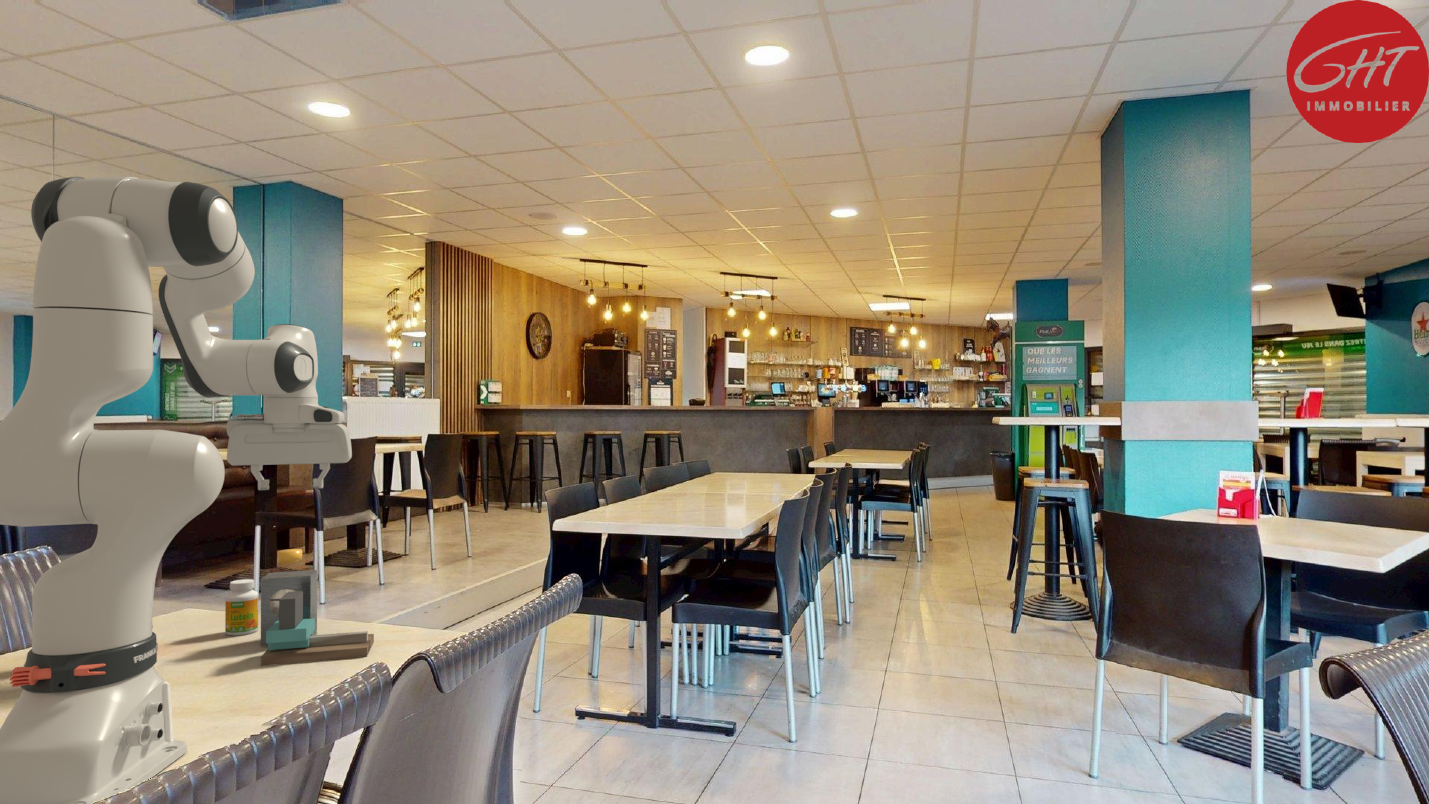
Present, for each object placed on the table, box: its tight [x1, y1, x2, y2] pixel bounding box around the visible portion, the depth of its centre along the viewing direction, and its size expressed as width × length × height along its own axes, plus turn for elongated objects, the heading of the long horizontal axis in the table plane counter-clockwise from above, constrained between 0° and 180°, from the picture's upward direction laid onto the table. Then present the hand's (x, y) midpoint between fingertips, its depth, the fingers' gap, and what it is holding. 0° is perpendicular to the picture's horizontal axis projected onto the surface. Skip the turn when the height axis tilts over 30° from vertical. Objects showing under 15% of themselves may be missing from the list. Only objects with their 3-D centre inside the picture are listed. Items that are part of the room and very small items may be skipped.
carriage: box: [266, 591, 315, 650], centre depth 133 cm, size 7×6×8 cm
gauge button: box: [276, 548, 303, 565], centre depth 143 cm, size 4×4×2 cm
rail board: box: [260, 630, 375, 667], centre depth 134 cm, size 9×16×3 cm, turn 107°
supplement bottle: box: [224, 578, 260, 637], centre depth 148 cm, size 5×5×10 cm
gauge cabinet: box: [260, 569, 318, 648], centre depth 142 cm, size 7×8×12 cm
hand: (291, 489), depth 143 cm, fingers open, 8 cm apart
